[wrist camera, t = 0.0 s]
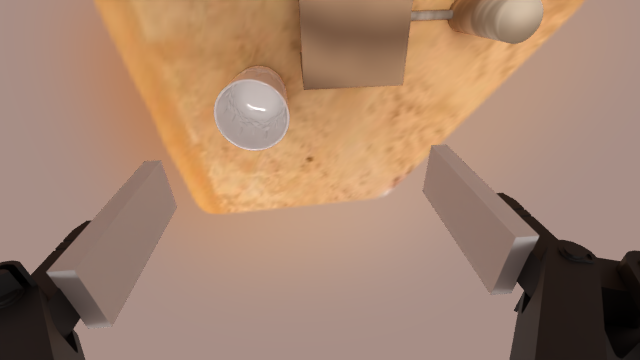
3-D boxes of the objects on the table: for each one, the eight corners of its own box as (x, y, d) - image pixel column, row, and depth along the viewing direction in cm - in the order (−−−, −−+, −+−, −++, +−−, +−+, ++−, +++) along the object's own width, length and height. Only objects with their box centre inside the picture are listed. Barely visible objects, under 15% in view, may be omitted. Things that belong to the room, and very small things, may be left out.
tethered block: (322, -12, 34) (333, -14, 25) (486, -16, 35) (554, -20, 26) (323, 45, 38) (333, 62, 28) (473, 39, 39) (530, 54, 29)
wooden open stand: (295, -38, 33) (296, -50, 24) (384, -40, 34) (419, -52, 24) (301, 66, 39) (303, 89, 30) (376, 63, 39) (402, 85, 30)
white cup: (225, 61, 38) (205, 81, 29) (287, 58, 38) (285, 77, 30) (236, 121, 42) (222, 153, 34) (292, 117, 42) (292, 148, 34)
